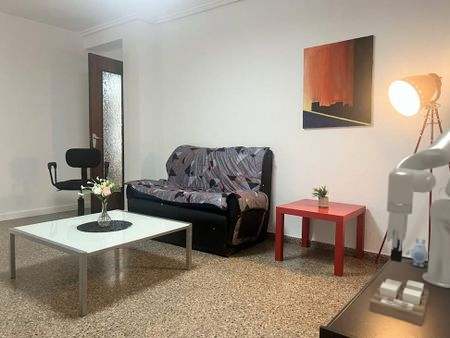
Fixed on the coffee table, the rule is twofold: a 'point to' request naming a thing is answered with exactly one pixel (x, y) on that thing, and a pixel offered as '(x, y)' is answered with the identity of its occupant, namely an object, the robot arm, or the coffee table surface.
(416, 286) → the button
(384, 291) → the button
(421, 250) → the toy figure
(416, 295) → the button
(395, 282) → the button
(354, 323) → the coffee table surface
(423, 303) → the button board
